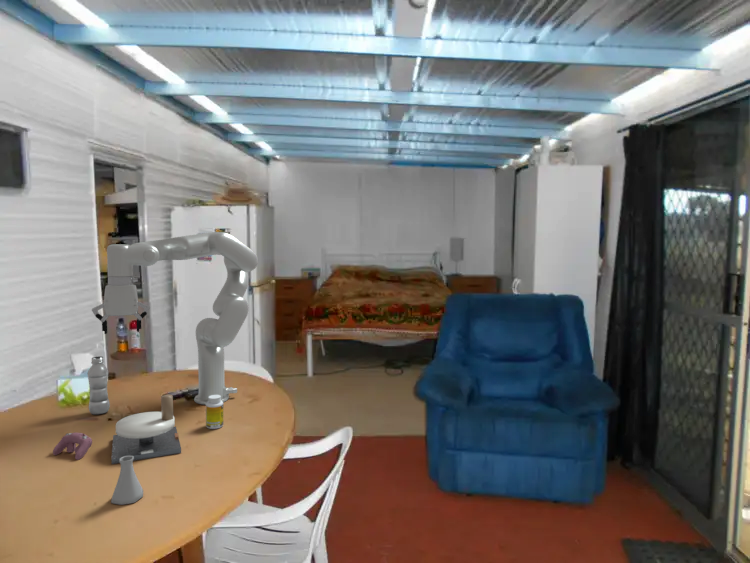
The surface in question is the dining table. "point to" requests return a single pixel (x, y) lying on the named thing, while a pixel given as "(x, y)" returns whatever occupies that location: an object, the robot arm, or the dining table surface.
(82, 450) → the video game controller
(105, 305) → the robot arm
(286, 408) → the dining table surface
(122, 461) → the flask
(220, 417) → the supplement bottle
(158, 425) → the white piece
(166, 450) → the mount
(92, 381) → the plastic bottle
